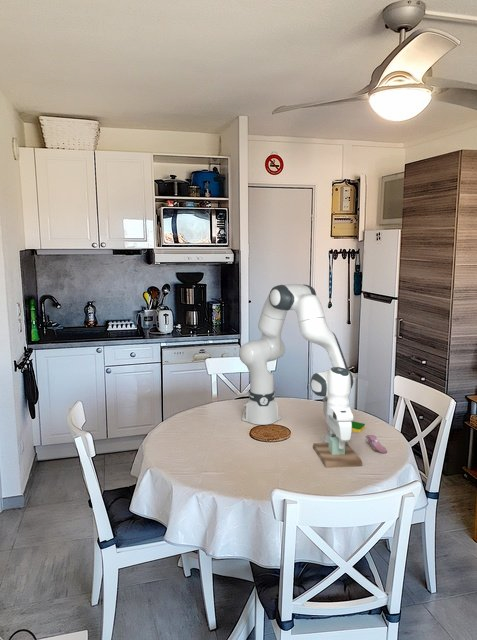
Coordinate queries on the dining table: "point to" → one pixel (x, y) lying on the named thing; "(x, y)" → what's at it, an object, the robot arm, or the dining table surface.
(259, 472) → the dining table surface
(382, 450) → the video game controller
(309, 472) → the dining table surface
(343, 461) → the walnut board
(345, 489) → the dining table surface
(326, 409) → the chalice
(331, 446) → the sage cube
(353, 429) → the dish sponge
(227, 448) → the dining table surface
